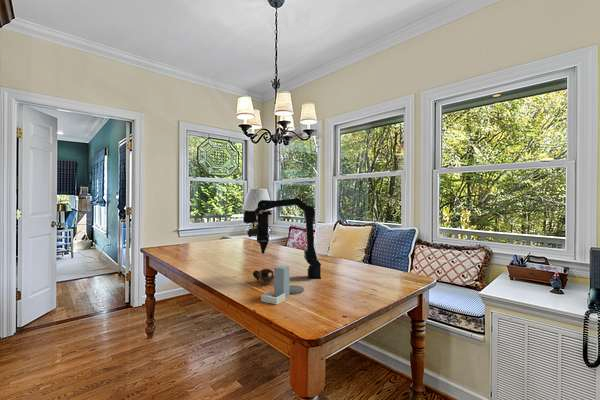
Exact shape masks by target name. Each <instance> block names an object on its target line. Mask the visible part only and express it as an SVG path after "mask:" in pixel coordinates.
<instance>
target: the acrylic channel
mask: <svg viewBox="0 0 600 400" xmlns="http://www.w3.org/2000/svg"><path fill="white" fill-rule="evenodd" d="M260 299H261V302H263V303H268V304H273V305H278V304H280V303H282V302H283V301H285V300H286V297H285V293H283V294H282V295H280V296H278V297H275V296H273V291H272V290H269V291H267V292H266V293H263V294H262V295H261V297H260Z"/></svg>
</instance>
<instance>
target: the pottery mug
mask: <svg viewBox="0 0 600 400" xmlns="http://www.w3.org/2000/svg"><path fill="white" fill-rule="evenodd" d="M269 274H271V275H270V276H269ZM252 275H253V277H254V278H255V279H256V281H257V282H259V285H260V286H264V285H265V284H268V283H271V282H273V281H274V270H272V269H269V268H262V269H260V271H259V270H254V271H253V273H252Z"/></svg>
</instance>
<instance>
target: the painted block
mask: <svg viewBox="0 0 600 400" xmlns="http://www.w3.org/2000/svg"><path fill="white" fill-rule="evenodd" d="M290 273H291V272H290V266H289V265H282V264H279V265H277V266H274V267H273V274H274V279H273V281H274V282H273V283H274V284H273V297H278V296H280V295H282V294H283V293H285V298H286V297H289V296H291V294H290V285H291V284H290V283H291V282H290V275H291V274H290Z"/></svg>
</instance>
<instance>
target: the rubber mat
mask: <svg viewBox="0 0 600 400" xmlns="http://www.w3.org/2000/svg"><path fill="white" fill-rule="evenodd" d="M304 291H305V288H304V287H303V286H301V285H295V284H292V285H291V284H290V295H298V294H302V293H304Z"/></svg>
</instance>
